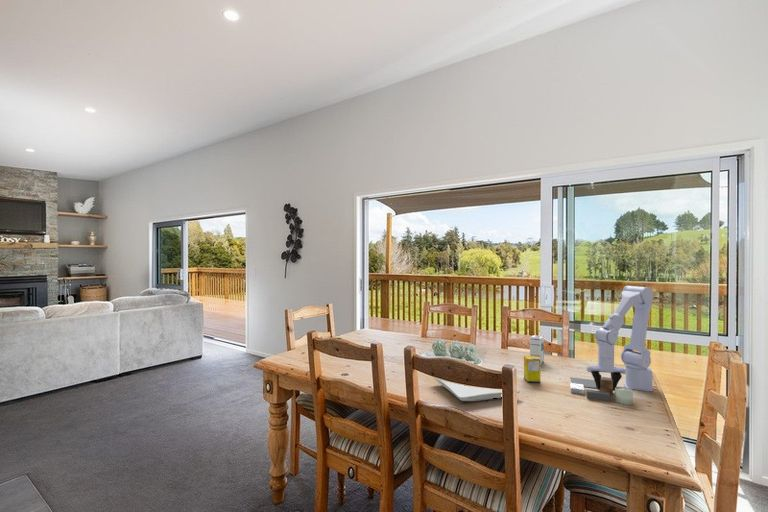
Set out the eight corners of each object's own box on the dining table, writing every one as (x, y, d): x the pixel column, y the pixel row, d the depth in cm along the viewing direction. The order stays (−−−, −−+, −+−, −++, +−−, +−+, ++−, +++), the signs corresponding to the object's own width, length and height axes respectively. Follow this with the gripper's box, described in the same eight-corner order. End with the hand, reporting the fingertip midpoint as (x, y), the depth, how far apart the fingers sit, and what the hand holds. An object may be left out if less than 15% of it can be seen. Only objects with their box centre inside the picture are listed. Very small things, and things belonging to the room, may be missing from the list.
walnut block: (611, 391, 158) (611, 377, 158) (613, 395, 154) (613, 381, 154) (598, 390, 160) (598, 376, 160) (600, 394, 156) (600, 379, 156)
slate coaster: (596, 381, 171) (596, 380, 171) (600, 389, 161) (600, 388, 161) (570, 378, 175) (570, 377, 175) (572, 386, 165) (572, 384, 165)
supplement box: (536, 378, 175) (536, 355, 174) (540, 383, 169) (540, 359, 169) (523, 378, 175) (523, 355, 175) (527, 382, 169) (527, 358, 169)
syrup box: (541, 365, 195) (541, 338, 195) (529, 363, 198) (529, 336, 198) (544, 363, 199) (544, 336, 199) (532, 361, 203) (532, 334, 203)
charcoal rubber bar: (608, 399, 151) (608, 392, 151) (610, 402, 148) (610, 394, 148) (586, 396, 154) (586, 389, 154) (587, 399, 151) (587, 391, 151)
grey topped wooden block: (570, 388, 164) (570, 382, 164) (583, 390, 162) (583, 384, 162) (570, 393, 157) (570, 387, 157) (584, 395, 155) (584, 389, 155)
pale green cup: (630, 400, 149) (631, 387, 149) (634, 405, 144) (634, 393, 144) (613, 398, 152) (613, 385, 152) (616, 403, 146) (616, 390, 146)
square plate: (460, 406, 143) (460, 396, 143) (431, 383, 170) (431, 374, 170) (520, 399, 151) (520, 389, 151) (484, 377, 177) (484, 369, 177)
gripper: (620, 355, 160) (620, 387, 160) (584, 354, 162) (583, 385, 162) (628, 360, 153) (628, 393, 153) (590, 358, 155) (590, 391, 155)
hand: (605, 389), depth 157 cm, fingers closed on walnut block, 5 cm apart
